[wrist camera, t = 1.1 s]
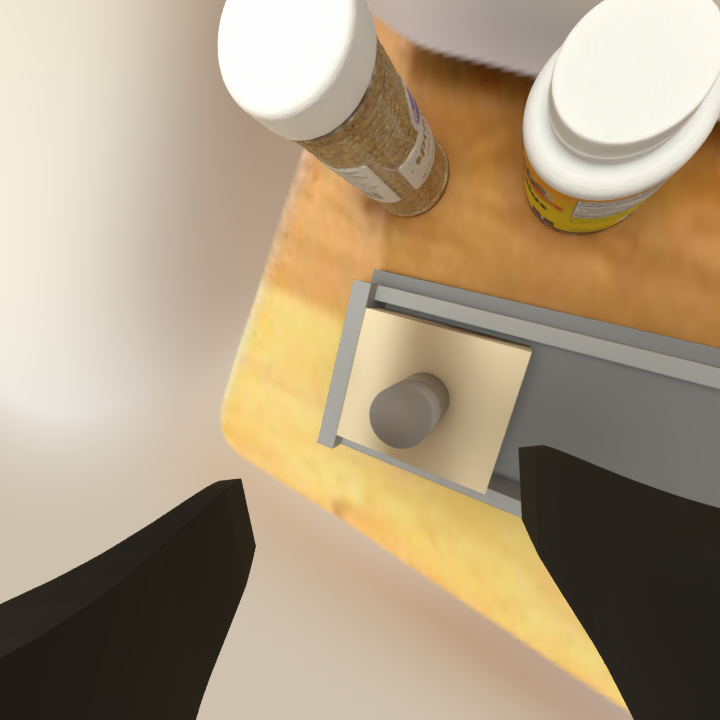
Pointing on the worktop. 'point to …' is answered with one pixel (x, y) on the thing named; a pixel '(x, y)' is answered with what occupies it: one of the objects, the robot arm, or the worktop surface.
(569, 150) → the supplement bottle
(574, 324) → the tray
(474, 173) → the worktop surface
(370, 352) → the beige knobbed block
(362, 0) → the brown spice jar
